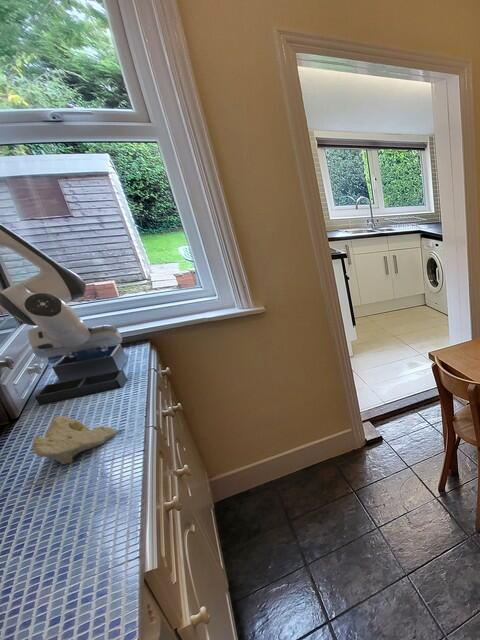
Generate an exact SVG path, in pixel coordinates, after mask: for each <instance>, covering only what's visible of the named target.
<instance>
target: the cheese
mask: <svg viewBox="0 0 480 640" xmlns="http://www.w3.org/2000/svg"><path fill="white" fill-rule="evenodd" d="M116 434H117V432H116V429H115V428H112V427H110V426H103V425H100V426H96V427H93V428H92V429H90V428H88V427H87V426H86V425H85V424H84V423H83V422H82V421H80V420H79V419H76V418H70V417H69V416H66V415H65V416H64V415H60V416H59V415H58V416H54V418H53V419H52V420H51V424H50V425H49V427H48V428H47V429H46V431H45V433H44V436H40V434H39V432H35V435H36V436H34V437H33V442H32V450H33V453H34V454H35V455H36V456H37V457H42V458H48V459H53V460H55V461H56V462H57V461H58V462H60V464H61V465H67V464H70V463H72V462H73V461H74V458H75V457H76V456H77V455H78V454H80V453H82V452H84V451H88V450H91V449H95V448H97V447H98V446H101V445H103V444H104V443H105V442H107V441H109V440H110V439H111V438H113V437H114V436H116Z"/></svg>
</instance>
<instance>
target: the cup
mask: <svg viewBox="0 0 480 640" xmlns="http://www.w3.org/2000/svg"><path fill="white" fill-rule="evenodd" d="M72 353H73V355H74V357H75V359H76V361H77V362H79V361H85V360H90V359H95V358H101V357H105V355H104V353H103V352H102V351H101V350H100V347H97V348H92V349H87V350H82V351H77V352H72Z"/></svg>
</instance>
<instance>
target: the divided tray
mask: <svg viewBox="0 0 480 640" xmlns="http://www.w3.org/2000/svg"><path fill="white" fill-rule="evenodd" d="M127 381H128V378H127V375H126V374H125V372H124V369H122V370H119V371H114V372H109V373H104V374H99V375H94V376H89V377H84V378H79V379H74V380H69V381H64V382H60V381H59V382H54V383H50V384H45V385H44V386H43V387H42V388H41V389H40V390H39V392H38V393H37V394H35V396H34V399H35V401H36V402H37V404H38V405H39V407H41V406H47V405H51V404H55V403H60V402H64V401H69V400H73V399H79V398H83V397H87V396H92V395H97V394H102V393H106V392H111V391H116V390H119V389H123V388H124V387H125V385H126V384H127Z"/></svg>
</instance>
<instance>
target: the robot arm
mask: <svg viewBox="0 0 480 640" xmlns="http://www.w3.org/2000/svg"><path fill="white" fill-rule="evenodd" d="M0 247H4V248H7V249H10V250H11V251H13V252H14V253H16V254H17V255H18V256H20V257H21V258H23V259H25V261H27V262H29V263H31V265H33V266H35V267H36V268H38V270H40V271H39V272H38V273H37V274H35V275H33V276H31V277H28V278H26V279H24V280H22V281H20V282H18V283H15V284H13V285H11V286H9V287H6V288H5V289H3V290H1V291H0V307H2V309H4V310H6V311H7V313H9V314H10V315H11V316H12V317H13V318H14V319H16V320H17V321H18V322H20V323H22V324H24V325H28V326H33V328H30V329H28V330H27V336H28V337H27V338H28V341H29V344H30V346H31V349H32V352H33V354H34V355H35V356H36V357H37V358H40V359H46V358H52V357H56V356H61V357H63V356H67V357H68V358H73V357H74V355H73V353H72V352H77V351H82V350H87V349H92V348H97V347H100V350H101V351H102V352H103V351H108V349H107V347H108V346H111V345H116V344H122V342H123V337H122V334H121V332H120V331H119V329H118V328H117V327H116V326H115V325H109V324H103V325H96V326H90V327H89V326H88V325H87V324H86V322H84V320H82V318H80V317H79V315H78V313H76V311H75V310H74V308H72V307H71V306H70V305H69V304H68V303H70V302H73V301H75V300H77V299H79V298H81V297H84V296H85V293H86V289H87V284H86V282H85V281H84V280H83V279H82V278H81V277H80V276H79V275H78V274H77V273H76V272H74V271H72V270H71V269H68V268H67V267H65V266H63V265H62V264H60V263H59V262H58V261H56V260H55V259H54V258H51V257H50V256H49V255H47V254H46V253H45V252H43V251H42V250H40V249H39V248H37V247H36V246H35V245H33V243H31V242H29V241H27V240H26V239H25V238H24V237H22V236H20V235H19V234H18V233H16V232H14V231H13V230H11V229H10V228H8V227H7V226H5V225H3V224H2V223H0Z"/></svg>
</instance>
